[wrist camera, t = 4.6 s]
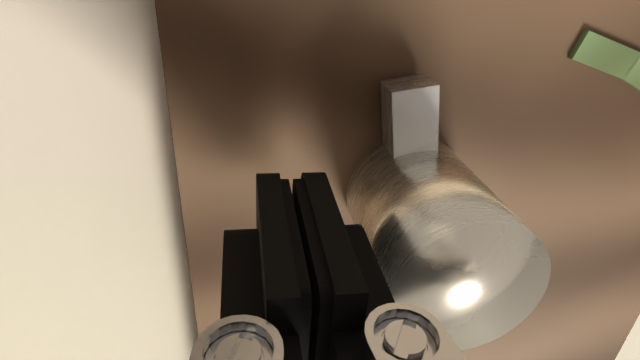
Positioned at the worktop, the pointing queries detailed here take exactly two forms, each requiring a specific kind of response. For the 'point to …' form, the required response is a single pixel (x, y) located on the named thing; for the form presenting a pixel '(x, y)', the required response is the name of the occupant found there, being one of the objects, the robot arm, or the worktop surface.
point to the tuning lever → (443, 225)
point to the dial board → (454, 131)
